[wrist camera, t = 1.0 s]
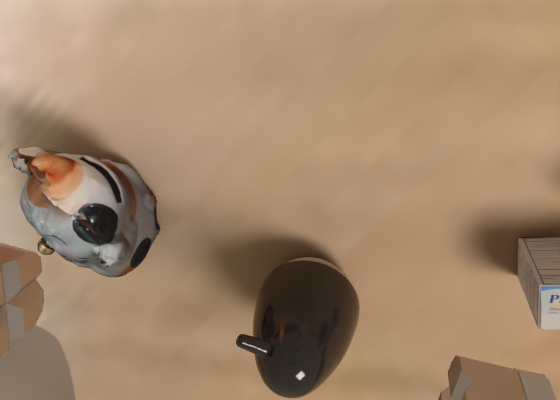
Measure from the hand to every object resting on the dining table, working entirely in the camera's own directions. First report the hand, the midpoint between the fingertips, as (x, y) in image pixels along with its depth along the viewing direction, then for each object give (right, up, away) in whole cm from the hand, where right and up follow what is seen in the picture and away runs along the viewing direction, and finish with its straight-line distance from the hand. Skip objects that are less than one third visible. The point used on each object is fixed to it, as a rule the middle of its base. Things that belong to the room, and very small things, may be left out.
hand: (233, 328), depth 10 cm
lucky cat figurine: (-18, +2, +47) cm, 51 cm away
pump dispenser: (+5, -6, +46) cm, 46 cm away
